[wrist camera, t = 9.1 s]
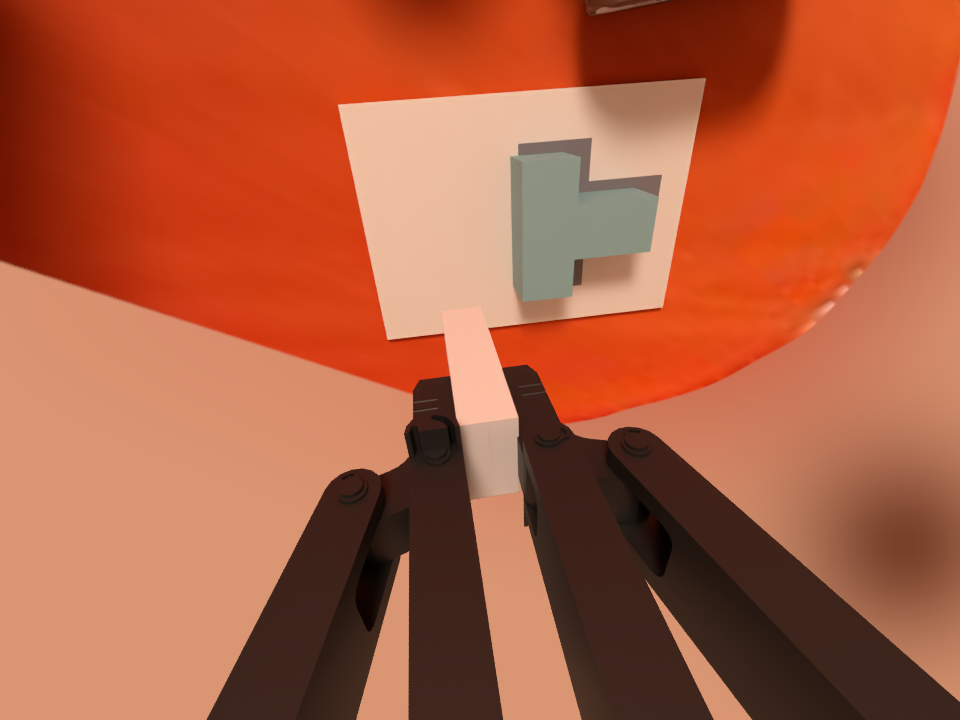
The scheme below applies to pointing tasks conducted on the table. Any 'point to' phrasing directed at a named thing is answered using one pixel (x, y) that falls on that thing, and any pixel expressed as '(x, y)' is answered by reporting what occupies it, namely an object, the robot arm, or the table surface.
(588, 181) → the mat
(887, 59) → the table surface
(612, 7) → the tin
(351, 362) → the table surface
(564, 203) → the t block
